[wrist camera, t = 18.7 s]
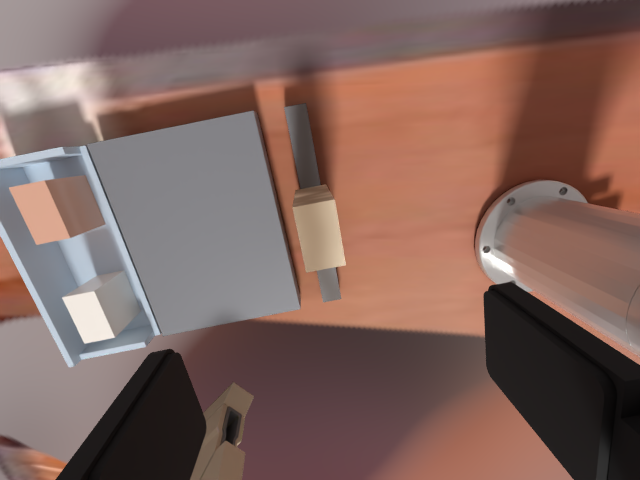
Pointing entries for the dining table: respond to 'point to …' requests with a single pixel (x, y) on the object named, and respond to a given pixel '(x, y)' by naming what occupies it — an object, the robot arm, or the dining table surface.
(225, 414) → the gun
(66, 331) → the box
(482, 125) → the dining table surface
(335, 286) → the scraper
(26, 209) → the tile terracotta
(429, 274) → the dining table surface
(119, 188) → the board
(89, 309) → the tile cream
